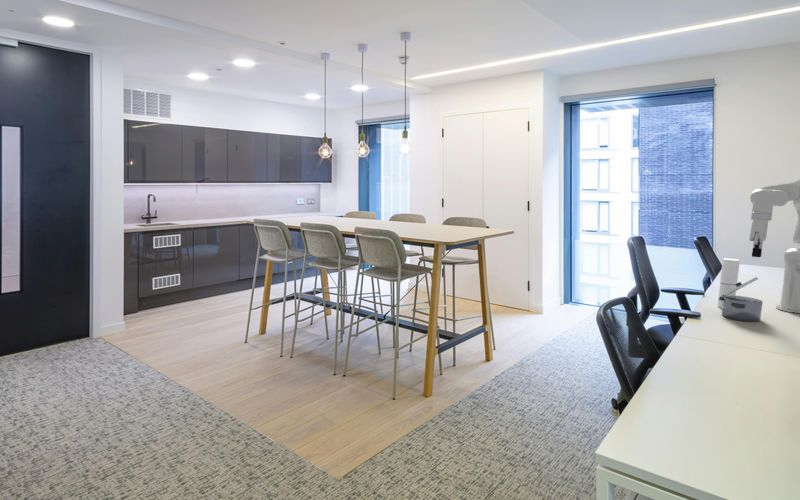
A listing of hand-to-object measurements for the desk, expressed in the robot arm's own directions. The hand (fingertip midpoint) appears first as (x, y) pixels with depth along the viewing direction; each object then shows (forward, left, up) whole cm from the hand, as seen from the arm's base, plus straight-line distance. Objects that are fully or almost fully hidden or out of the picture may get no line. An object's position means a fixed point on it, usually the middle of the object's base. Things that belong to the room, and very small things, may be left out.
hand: (756, 256), depth 226 cm
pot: (0, -3, -30) cm, 30 cm away
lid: (0, -4, -15) cm, 16 cm away
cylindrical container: (-18, -13, -30) cm, 37 cm away
